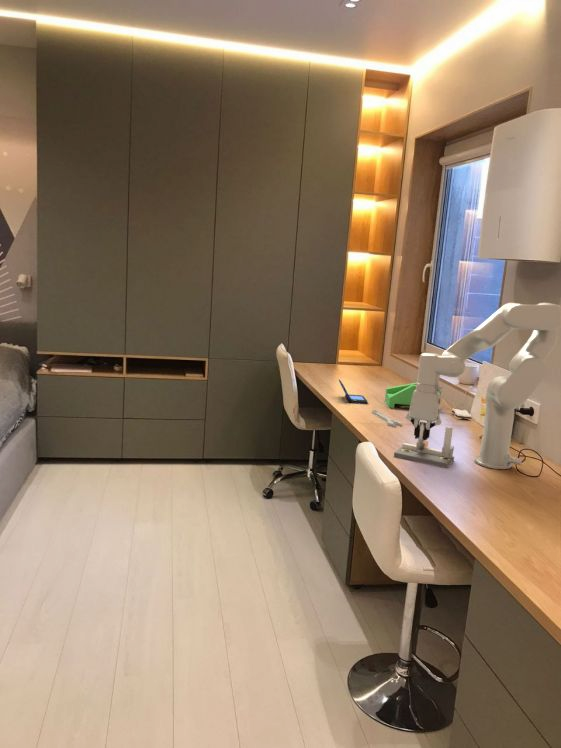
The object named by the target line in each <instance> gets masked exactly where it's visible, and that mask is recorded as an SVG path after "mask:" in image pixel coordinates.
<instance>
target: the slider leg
mask: <svg viewBox="0 0 561 748" xmlns="http://www.w3.org/2000/svg"><path fill="white" fill-rule="evenodd" d="M426 425H427V421H420V423H419V433H418V438H417V442H416V444H415V445H416V448H417V450H418V452H421V451H423V450H424V449H426V448H429V447H428V446H429V441H427V440H426V441H425V440H423V439H424V431H425V429H426Z"/></svg>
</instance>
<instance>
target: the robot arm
mask: <svg viewBox="0 0 561 748" xmlns="http://www.w3.org/2000/svg"><path fill="white" fill-rule="evenodd" d="M559 329H561V305H559V304H557V303H551V302H539V303H537V304H522V303H518V302H507V303H505V304H503V305H502V306H501V307H499V308H498V309H497V310H496V311H495V312H493V313H492V314H491V315H490V316H488V318H487V319H485V320H484V321H483V322H482V323H481V324H480V325H478V326H477V327H476V328H474V329H473V330H472V331H470V332H468V333H467V334H466V335H464V336H462V337H461V338H460V339H458V340H456V342H454V343H453V344H452V345H450V346H449V347H448V348H446V349H445V350H444V351H443V352H442V354H441V355H440V354H438V353H434V352H422V353H421V354H420V355H419V360H418V361H419V362H418V367H417V369H418V370H417V379H416V383H417V385H416V390H414V392H413V396H412V400H411V404H410V405H409V411H408V412H407V414H406V415H405V419H407V420H408V421H409V422H411V424H412V425H413V427H414V430H413V431H414V432H413V436H414V439H415V440H418V433H419V424H420V422H421V421H424V422H426V423H427V424H426V429H425V431H424V439H423V440H425V441H427V440H428V439H429V438H430V436H431V435H430V434H431V433H430V432H431V429H432V428H433V427H435V426H439V425H442V422H443V421H442V419H441V397H440V393H438V391H441V392H443V387H442V386H440V377H441V376H445V377H449V378H459V377H460V376H462V375H463V374H464V373H465V371H466V363H465V361H466V360H468V359H469V358H471V357H472V356H474V355H475V354H478V353H479V352H482V351H487V350H489V349H491V348H494V347H495V346H496V345H497V344H498V343H499V342H500V341H502V340H503V339H505V337H506V336H508V335H509V334H510V333H511V332H513V331H514V330H518V331H519V330H520V331H532V332H531V334H530V336H529V338H528V339H527V341H526V342H524V344H523V345H522V347H521V348H520V349H519V350H518V352H517V353H516V354H515V355H514V356H513V357H512V359H511V360H510V362H509V365H508V367H509V372H510V373H511V374H510V375H509V376H505V375H499V376H496V377H494V378H492V379H491V380H490V381H489V383H487V384H488V385H487V387H486V403H485V404H486V407H485V413H484V414H485V415H484V422H483V431H482V436H481V437H482V438H481V444H480V451H479V455H477V456H475V457H474V462H475V463H476V464H478V465H479V466H482V467H485V468H489V469H495V470H506V469H507V470H508V469H509V470H510V469H511V468H512V465H513V464H514V465H518V466H521V464H522V459H521V458H520V459H519V457H513V456H512V455H511V452H510V448H511V447H510V446H511V441H512V432H513V425H514V420H515V410H516V409H518V408H519V407H521V406H522V405H524V403H526V401H527V400H528V399H529V398H530V397H531V396H532V395H533V394H534V392H535V391H536V390H537V389H538V387H540V385H542V384H541V383H542V382H543V381H544V379H545V378H546V375H547V371H548V368H547V364H546V362H545V361H546V359H547V358H548V356H549V355H550V354H551V352H552V351H553V350H554V349H555V347H556V345H557V342H558V339H559Z"/></svg>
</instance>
